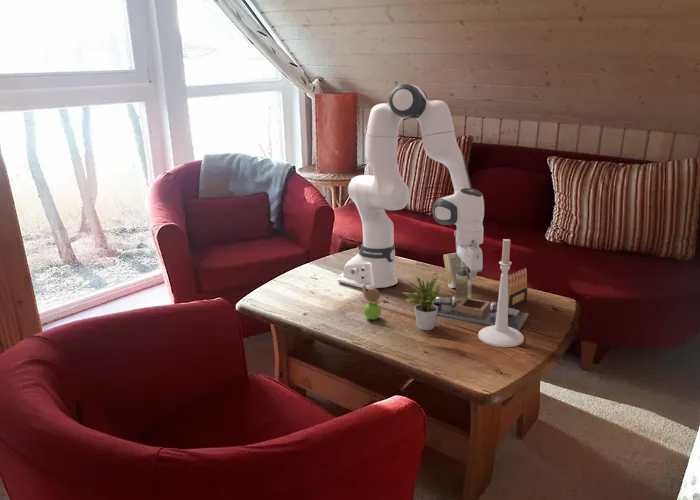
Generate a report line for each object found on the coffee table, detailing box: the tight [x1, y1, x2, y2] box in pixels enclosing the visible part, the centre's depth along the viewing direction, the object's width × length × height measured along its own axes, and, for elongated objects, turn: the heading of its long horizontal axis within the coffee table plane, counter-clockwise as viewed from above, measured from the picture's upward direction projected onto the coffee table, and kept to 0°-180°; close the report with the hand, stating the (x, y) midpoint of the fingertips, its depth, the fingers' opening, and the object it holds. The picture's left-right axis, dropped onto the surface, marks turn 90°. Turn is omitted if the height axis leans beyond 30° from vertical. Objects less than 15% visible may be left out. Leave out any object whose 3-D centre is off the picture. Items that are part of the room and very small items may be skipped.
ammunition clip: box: [508, 267, 528, 309], centre depth 190 cm, size 11×2×12 cm, turn 133°
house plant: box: [400, 273, 447, 331], centre depth 176 cm, size 14×14×16 cm
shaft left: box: [433, 295, 457, 309], centre depth 187 cm, size 9×4×4 cm, turn 73°
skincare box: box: [443, 252, 462, 289], centre depth 208 cm, size 6×4×12 cm
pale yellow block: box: [455, 270, 472, 302], centre depth 196 cm, size 4×4×10 cm
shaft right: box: [489, 301, 521, 322], centre depth 179 cm, size 9×4×4 cm, turn 49°
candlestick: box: [477, 238, 525, 348], centre depth 164 cm, size 13×13×30 cm
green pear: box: [361, 281, 382, 321], centre depth 181 cm, size 5×6×12 cm
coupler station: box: [436, 297, 529, 331], centre depth 185 cm, size 32×12×4 cm, turn 61°
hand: (468, 276), depth 198 cm, fingers open, 8 cm apart
